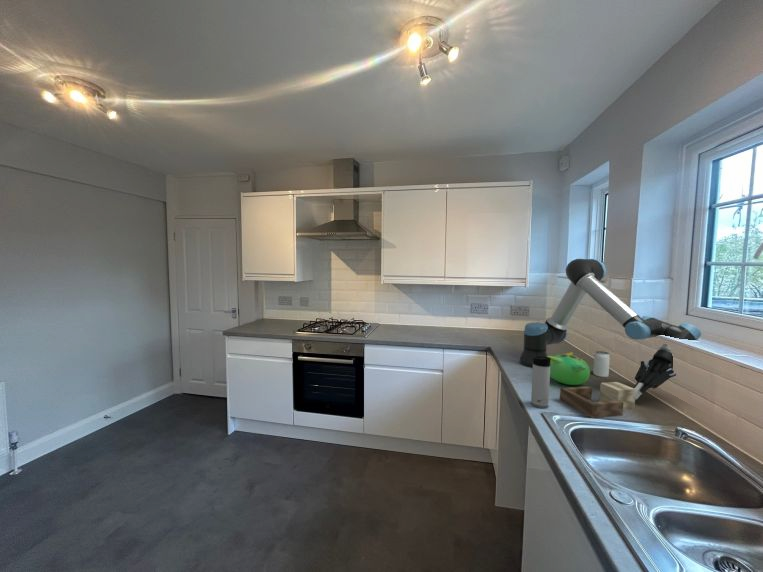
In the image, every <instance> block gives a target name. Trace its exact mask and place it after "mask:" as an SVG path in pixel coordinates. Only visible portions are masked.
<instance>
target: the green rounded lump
mask: <svg viewBox="0 0 763 572" xmlns="http://www.w3.org/2000/svg"><path fill="white" fill-rule="evenodd" d="M547 357H549V358H551V360H550V378H552V379H553V380H554V381H556V382H558V383H559V384H563V385H567V386H578V385H582V384H585V383H586V382H587V381H588V380H589V378H590V376H591V367H590V366H589V364H588V363H587V362H586V361H585V360H583V359H582V358H581V357H579V356H576V355H574V352H571V351H570V352H566V353H559V354H554V355H547Z"/></svg>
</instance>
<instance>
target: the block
mask: <svg viewBox="0 0 763 572" xmlns="http://www.w3.org/2000/svg"><path fill="white" fill-rule="evenodd" d="M599 389H600V390H599V402H601V401H614V400H619V401H622V402H623V411H624V410H625V411H626V410H635V405H636V399H635V391H636V389H634V388H633V387H630V386H628V385H626V384H624V383H621V382H620V381H619V382H618V381H608V382H601V383H600V387H599Z"/></svg>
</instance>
